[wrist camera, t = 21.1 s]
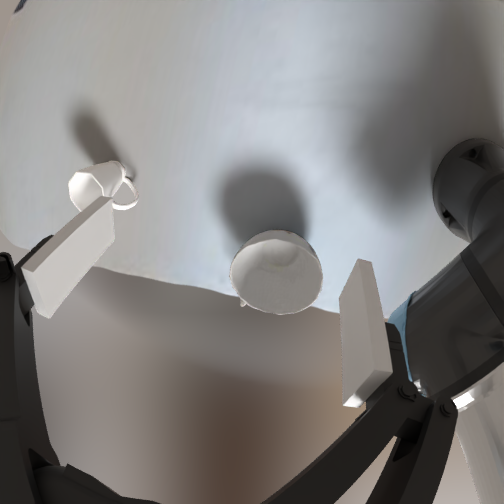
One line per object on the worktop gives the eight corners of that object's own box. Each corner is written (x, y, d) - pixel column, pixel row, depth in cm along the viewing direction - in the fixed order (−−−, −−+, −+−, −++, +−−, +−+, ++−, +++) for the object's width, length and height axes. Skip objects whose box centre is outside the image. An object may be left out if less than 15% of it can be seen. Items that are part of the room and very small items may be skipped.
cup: (103, 144, 42) (71, 162, 35) (155, 173, 43) (128, 195, 37) (93, 180, 45) (64, 202, 39) (141, 208, 47) (116, 234, 40)
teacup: (276, 194, 42) (270, 221, 36) (339, 247, 45) (343, 281, 39) (216, 258, 50) (202, 290, 44) (274, 300, 53) (268, 335, 47)
